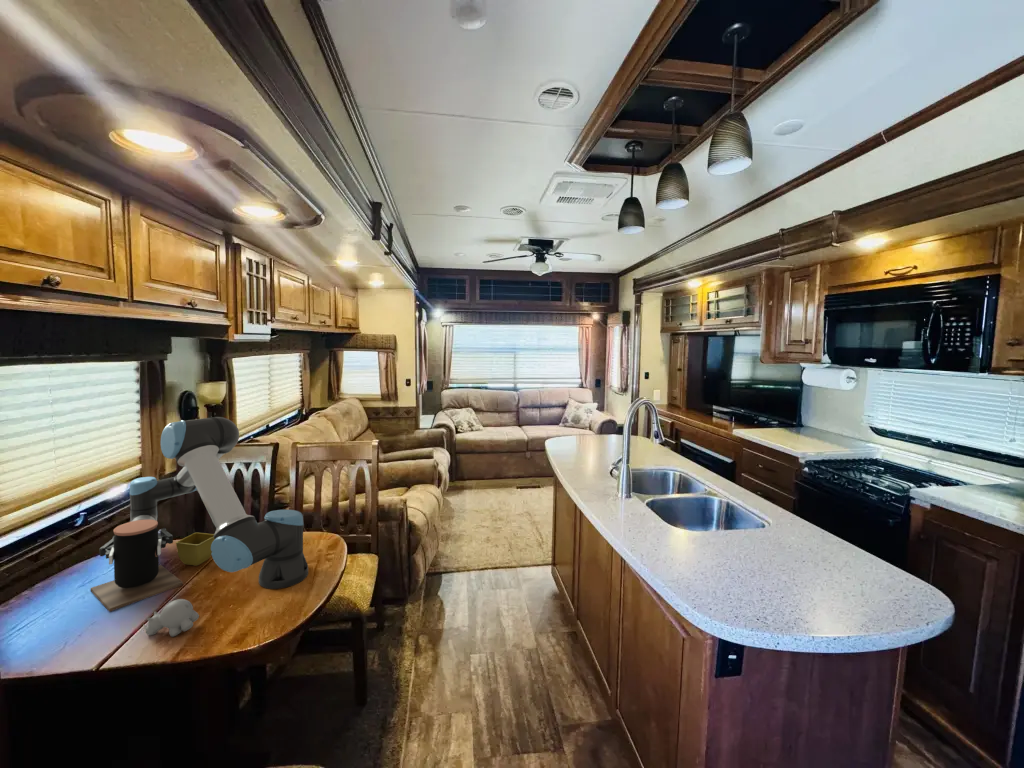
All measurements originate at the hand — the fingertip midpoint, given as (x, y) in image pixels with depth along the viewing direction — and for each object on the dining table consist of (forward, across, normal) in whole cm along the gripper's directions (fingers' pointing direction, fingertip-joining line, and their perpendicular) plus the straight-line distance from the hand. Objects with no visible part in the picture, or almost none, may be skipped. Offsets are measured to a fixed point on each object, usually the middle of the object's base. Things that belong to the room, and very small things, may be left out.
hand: (135, 555), depth 132 cm
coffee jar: (-4, 0, -10) cm, 11 cm away
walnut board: (-4, 0, -13) cm, 13 cm away
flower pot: (-14, -16, -13) cm, 25 cm away
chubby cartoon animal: (+28, -9, -13) cm, 32 cm away
